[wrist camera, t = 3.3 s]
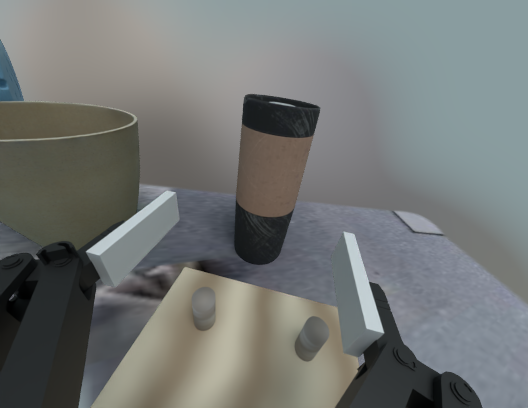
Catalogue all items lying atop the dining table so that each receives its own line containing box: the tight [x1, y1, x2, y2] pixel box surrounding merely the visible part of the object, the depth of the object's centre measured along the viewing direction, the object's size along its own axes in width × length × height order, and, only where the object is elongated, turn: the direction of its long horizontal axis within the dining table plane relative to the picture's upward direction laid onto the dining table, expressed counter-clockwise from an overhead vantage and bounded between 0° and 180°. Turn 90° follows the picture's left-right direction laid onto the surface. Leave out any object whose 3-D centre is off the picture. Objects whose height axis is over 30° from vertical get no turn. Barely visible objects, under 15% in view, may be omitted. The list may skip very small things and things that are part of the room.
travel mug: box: [235, 94, 320, 264], centre depth 24 cm, size 8×8×20 cm
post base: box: [90, 267, 359, 408], centre depth 14 cm, size 20×20×5 cm
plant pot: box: [0, 101, 140, 250], centre depth 22 cm, size 15×15×16 cm
